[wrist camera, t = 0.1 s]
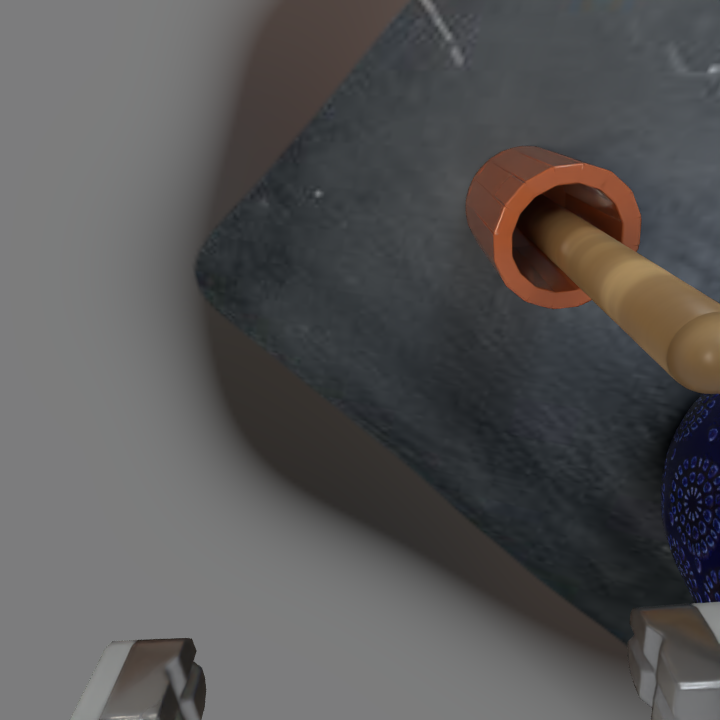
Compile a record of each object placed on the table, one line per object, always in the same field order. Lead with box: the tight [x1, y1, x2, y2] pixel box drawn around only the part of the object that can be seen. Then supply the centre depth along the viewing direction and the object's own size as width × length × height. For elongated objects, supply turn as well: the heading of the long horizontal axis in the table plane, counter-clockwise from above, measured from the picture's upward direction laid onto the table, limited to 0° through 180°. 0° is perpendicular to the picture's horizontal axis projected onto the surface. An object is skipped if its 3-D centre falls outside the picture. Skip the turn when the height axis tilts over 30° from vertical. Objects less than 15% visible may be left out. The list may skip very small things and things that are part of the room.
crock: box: [466, 146, 641, 309], centre depth 26 cm, size 5×5×8 cm
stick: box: [516, 194, 720, 394], centre depth 20 cm, size 2×2×19 cm
